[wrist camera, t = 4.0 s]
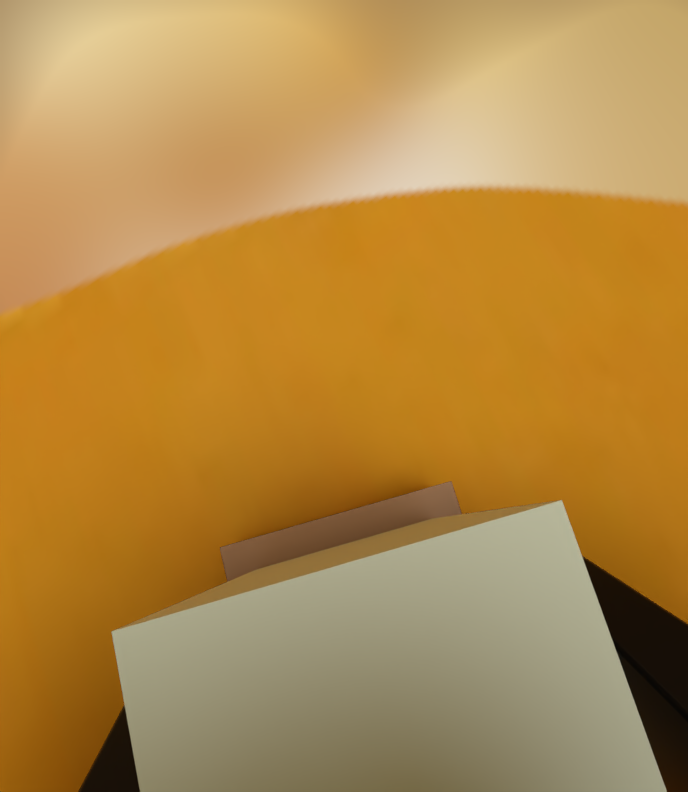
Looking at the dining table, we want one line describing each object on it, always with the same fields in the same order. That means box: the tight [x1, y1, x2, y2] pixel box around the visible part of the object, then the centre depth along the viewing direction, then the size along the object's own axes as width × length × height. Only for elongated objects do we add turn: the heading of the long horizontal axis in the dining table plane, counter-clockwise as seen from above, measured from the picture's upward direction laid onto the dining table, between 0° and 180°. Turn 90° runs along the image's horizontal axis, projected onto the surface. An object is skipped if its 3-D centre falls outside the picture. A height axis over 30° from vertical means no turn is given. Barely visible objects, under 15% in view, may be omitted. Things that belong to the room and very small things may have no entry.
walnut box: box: [220, 481, 462, 582], centre depth 15 cm, size 6×6×3 cm
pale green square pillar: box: [111, 500, 667, 792], centre depth 9 cm, size 4×4×9 cm
